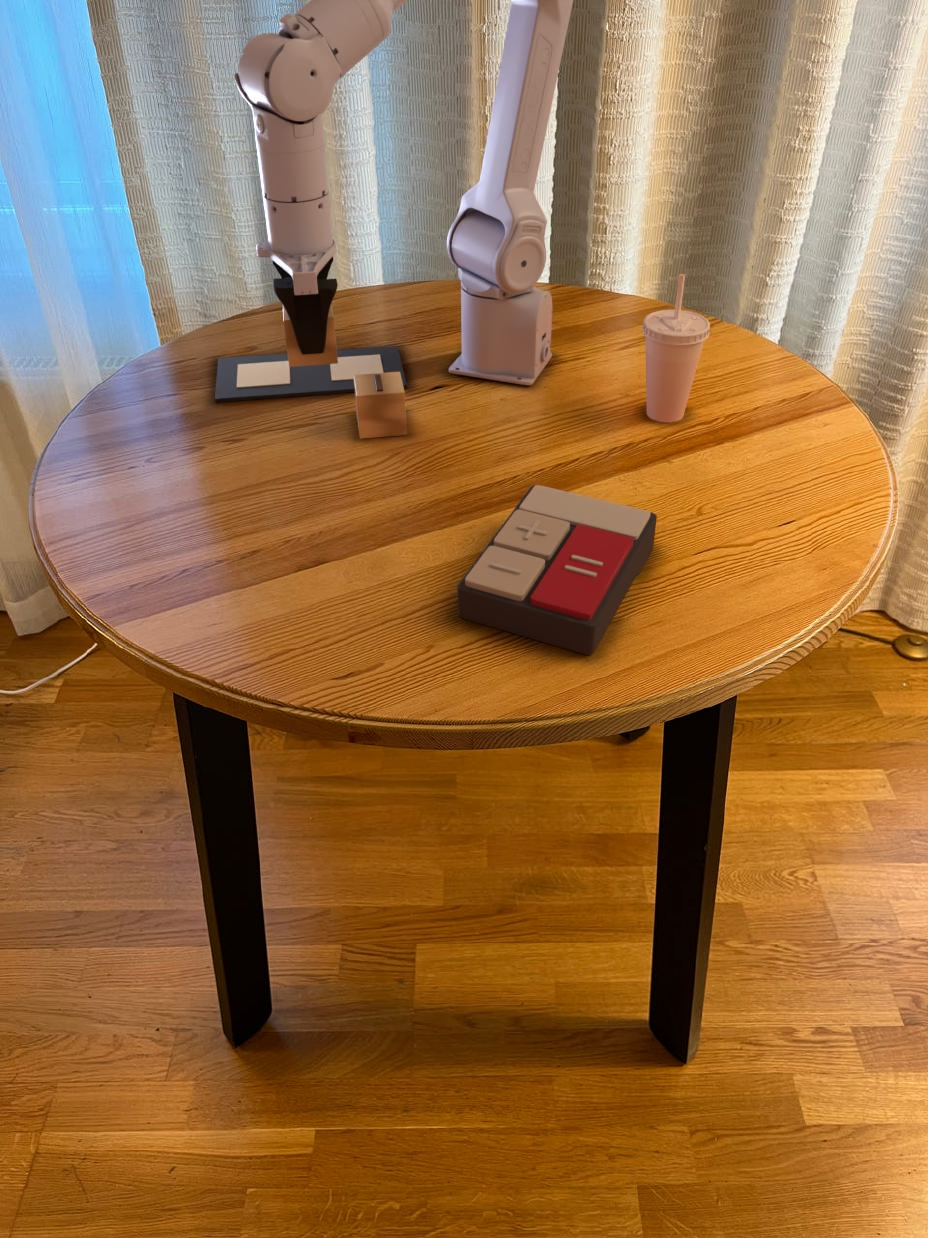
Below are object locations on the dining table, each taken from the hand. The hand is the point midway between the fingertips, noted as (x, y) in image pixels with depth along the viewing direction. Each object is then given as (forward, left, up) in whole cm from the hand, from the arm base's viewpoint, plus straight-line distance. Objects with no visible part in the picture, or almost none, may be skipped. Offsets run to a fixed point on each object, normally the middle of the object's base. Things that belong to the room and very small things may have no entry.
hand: (311, 340), depth 97 cm
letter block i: (-6, -1, -8) cm, 11 cm away
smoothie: (-32, -13, -9) cm, 36 cm away
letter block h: (0, 0, -1) cm, 1 cm away
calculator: (-30, +18, -9) cm, 36 cm away
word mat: (+6, -9, -8) cm, 14 cm away
